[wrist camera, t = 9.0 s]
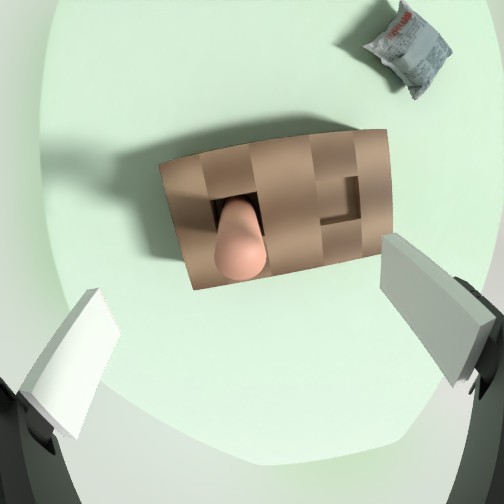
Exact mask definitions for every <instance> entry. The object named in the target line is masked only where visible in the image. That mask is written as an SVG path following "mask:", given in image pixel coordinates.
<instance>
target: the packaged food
mask: <svg viewBox="0 0 504 504" xmlns="http://www.w3.org/2000/svg"><path fill="white" fill-rule="evenodd" d="M361 47H363V48H365V49H367V50H369V51H370V52H372V53H373V54H374V55H376V56H377V57H379V58H380V59H381V62H382V64H384V65H385V66H388V67H389V68H390V69H392V71H393V72H394V73H395V74H396V75H397V76H399V77H400V78H401V79H402V80H403V83H404V84H406V85H407V86H408V90H409V91H410V94H411V95H412V98H413V99H414V100H416V99H418V98H419V97H420V96H421V95H422V94H423V93H424V92H425V91H426V89H427V88H428V87H429V86H430V84H431V82H432V81H433V79H434V77H435V76H436V74H437V72H438V70H439V69H440V68H441V67H442V65H443V64H444V62H445V60H446V59H447V57H449V56H450V55H451V54H452V53H453V51H452V50H451V48H450V47H449V46H448V44H447V43H446V42H445V41H444V39H443V38H442V37H441V35H440V34H439V33H438V32H437V31H436V30H435V29H434V28H433V27H432V26H431V25H430V24H429V23H427V22H426V21H425V20H424V19H423V18H422V17H421V16H419V15H418V14H417V13H416V12H414V11H413V10H412V9H411V8H410V6H409V5H408V4H407V3H406V2H405V1H404V0H401V1H400V2H399V10H398V13H397V15H396V17H395V18H394V19H393V20H392V21H391V22H390V24H389V26H388V28H387V30H386V31H385V32H381V33H380V34H379V35H378V36H377V37H376V39H375V40H374V41H372V42H370V43H368V44H365V45H363V46H361Z"/></svg>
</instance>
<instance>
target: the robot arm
mask: <svg viewBox="0 0 504 504" xmlns="http://www.w3.org/2000/svg"><path fill="white" fill-rule="evenodd" d="M380 289H381V290H382V291H383V293H384V294H385V295H386V296H387V298H388V299H389V300H390V301H391V303H392V304H393V305H394V307H395V308H396V309H397V310H398V312H399V313H400V314H401V316H402V317H403V318H404V320H405V321H406V322H407V324H408V325H409V326H410V328H411V329H412V330H413V332H414V333H415V334H416V336H417V337H418V338H419V340H420V341H421V342H422V344H423V345H424V347H425V348H426V349H427V351H428V352H429V354H430V355H431V357H432V358H433V359H434V361H435V362H436V364H437V365H438V367H439V368H440V370H441V371H442V373H443V374H444V376H445V377H446V379H447V380H448V382H449V383H450V385H451V386H452V388H454V387H456V386H458V385H460V384H461V383H463V382H465V381H467V380H468V379H469V378H470V376H471V374H472V372H473V370H474V368H475V369H476V370H477V371H478V373H479V374H478V376H477V378H476V380H475V382H474V383H473V385H472V387H471V389H470V391H469V394H471V393H472V392H473V390H474V388H475V395H474V402H473V408H472V414H471V420H470V425H469V430H468V435H467V440H466V444H465V448H464V452H463V455H462V459H461V463H460V466H459V469H458V473H457V476H456V479H455V482H454V485H453V487H452V490H451V493H450V495H449V498H448V501H447V503H446V504H504V315H503V314H502V313H501V312H500V311H499V310H498V309H497V308H496V307H495V306H494V305H492V304H491V303H490V302H489V301H488V300H487V299H486V298H485V297H484V296H483V297H482V295H481V294H480V293H479V292H478V291H477V290H476V291H475V288H474V287H472V286H471V285H470V284H469V283H468V282H466V281H464V280H462V279H460V278H458V277H452V276H450V275H449V274H448V273H447V272H446V271H444V270H443V269H442V268H441V267H440V266H438V265H437V264H436V263H435V262H434V261H432V260H431V259H430V258H429V257H427V256H426V255H425V254H423V253H422V252H421V251H420V250H418V249H417V248H416V247H414V246H413V245H412V244H410V243H409V242H408V241H406V240H405V239H404V238H402V237H401V236H400V235H398V234H397V233H392V234H387V235H382V253H381V277H380ZM120 335H121V331H120V329H119V327H118V325H117V323H116V322H115V320H114V318H113V316H112V314H111V312H110V310H109V308H108V306H107V303H106V301H105V299H104V297H103V295H102V293H101V291H100V288H95V289H90V290H87V291H86V292H85V294H84V295H83V296H82V297H81V299H80V300H79V301H78V303H77V304H76V305H75V307H74V308H73V309H72V311H71V312H70V313H69V315H68V316H67V317H66V319H65V320H64V321H63V323H62V324H61V326H60V327H59V328H58V330H57V331H56V333H55V334H54V335H53V337H52V338H51V340H50V341H49V343H48V344H47V346H46V348H45V349H44V350H43V352H42V353H41V355H40V356H39V358H38V359H37V361H36V363H35V364H34V366H33V367H32V369H31V371H30V372H29V374H28V375H27V377H26V379H25V380H24V382H23V384H22V385H21V387H20V389H19V391H18V392H17V394H16V395H15V394H14V393H13V392H12V390H11V389H10V388H9V387H8V386H7V384H6V383H5V382H4V381H3V379H1V377H0V504H82V503H81V501H80V499H79V497H78V495H77V492H76V490H75V488H74V485H73V483H72V480H71V478H70V475H69V473H68V470H67V467H66V464H65V461H64V459H63V456H62V453H61V449H60V446H59V443H58V440H57V438H56V436H55V435H54V434H53V430H54V428H55V429H56V430H57V431H58V432H59V433H60V434H61V435H63V437H67V438H71V439H76V440H77V439H78V436H79V433H80V430H81V428H82V425H83V422H84V419H85V417H86V414H87V411H88V409H89V406H90V404H91V401H92V399H93V396H94V393H95V391H96V389H97V386H98V384H99V382H100V379H101V377H102V375H103V372H104V370H105V368H106V365H107V363H108V361H109V359H110V357H111V354H112V352H113V350H114V348H115V346H116V343H117V341H118V339H119V337H120Z"/></svg>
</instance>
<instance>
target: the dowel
mask: <svg viewBox="0 0 504 504" xmlns="http://www.w3.org/2000/svg"><path fill="white" fill-rule="evenodd" d="M214 261H215V264H216V267H217V268H218V270H219V271H220V272H221V273H222V274H223V275H224V276H226V277H228V278H230V279H233V280H247V279H250V278H252V277H254V276H256V275H257V274H258V273H260V271H261V270H262V269H263V267H264V265H265V262H266V250H265V246H264V243H263V239H262V235H261V232H260V228H259V225H258V221H257V218H256V214H255V210H254V207H253V203H252V201H251V199H250V198H249V197H248V196H247V195H245V194H240V195H235V196H230V197H227V198H226V199H225V201H224V203H223V207H222V212H221V218H220V223H219V229H218V235H217V240H216V246H215V252H214Z"/></svg>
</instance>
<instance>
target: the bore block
mask: <svg viewBox="0 0 504 504" xmlns="http://www.w3.org/2000/svg"><path fill="white" fill-rule="evenodd" d="M159 169H160V173H161V177H162V181H163V185H164V189H165V193H166V197H167V201H168V205H169V209H170V212H171V216H172V220H173V224H174V227H175V231H176V234H177V238H178V241H179V245H180V248H181V252H182V255H183V258H184V262H185V265H186V268H187V271H188V275H189V278H190V281H191V284H192V287H193V290H199V289H205V288H211V287H217V286H222V285H228V284H234V283H239V282H245V281H250V280H255V279H261V278H266V277H271V276H277V275H282V274H287V273H292V272H297V271H302V270H307V269H312V268H317V267H322V266H327V265H331V264H336V263H341V262H346V261H350V260H355V259H360V258H364V257H369V256H373V255H378V254H381V253H382V235H387V234H392V233H393V203H392V180H391V166H390V154H389V145H388V136H387V129H364V130H347V131H334V132H323V133H314V134H305V135H297V136H289V137H282V138H275V139H269V140H263V141H257V142H251V143H245V144H240V145H235V146H230V147H225V148H220V149H215V150H211V151H206V152H202V153H198V154H193V155H189V156H185V157H181V158H177V159H173V160H170V161H167V162H164V163H161V164H159ZM240 194H245V195H247V196H248V197H249V198H250V199H251V201H252V203H253V207H254V210H255V214H256V218H257V221H258V225H259V228H260V232H261V235H262V239H263V243H264V246H265V250H266V262H265V265H264V267H263V269H262V270H261V271H260V273H258V274H257V275H256V276H254V277H252V278H250V279H247V280H233V279H230V278H228V277H226V276H224V275H223V274H222V273H221V272H220V271H219V270H218V268H217V267H216V264H215V261H214V252H215V246H216V240H217V235H218V229H219V223H220V218H221V212H222V207H223V203H224V201H225V199H226V198H227V197H230V196H235V195H240Z"/></svg>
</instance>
